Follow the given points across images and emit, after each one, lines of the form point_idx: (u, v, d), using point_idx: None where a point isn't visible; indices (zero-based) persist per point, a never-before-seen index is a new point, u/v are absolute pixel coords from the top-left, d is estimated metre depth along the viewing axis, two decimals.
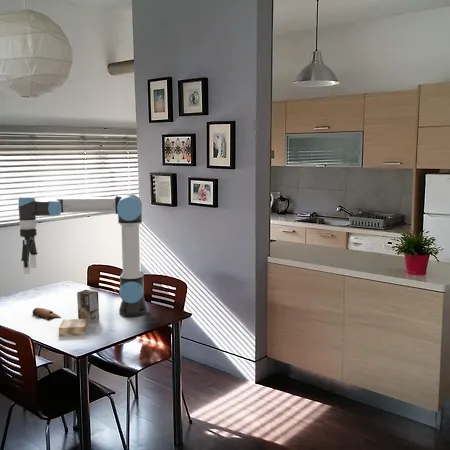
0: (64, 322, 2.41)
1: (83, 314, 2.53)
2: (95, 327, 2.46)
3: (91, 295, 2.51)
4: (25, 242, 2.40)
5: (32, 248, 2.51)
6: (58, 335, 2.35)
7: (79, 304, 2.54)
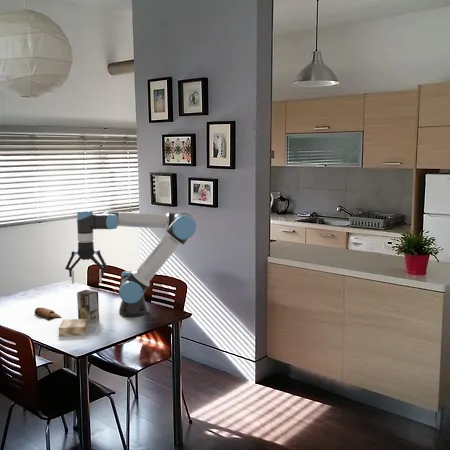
0: (64, 322, 2.41)
1: (83, 314, 2.53)
2: (95, 327, 2.46)
3: (91, 295, 2.51)
4: (71, 253, 2.50)
5: None
6: (58, 335, 2.35)
7: (79, 304, 2.54)
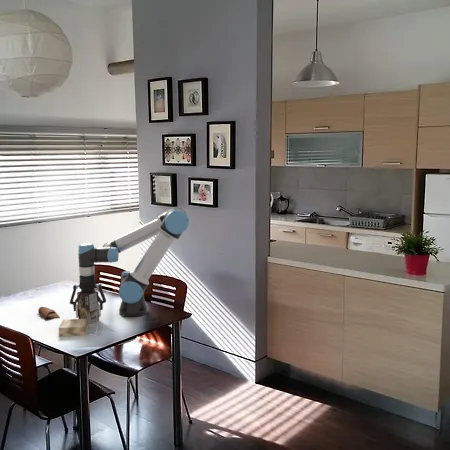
0: (64, 322, 2.41)
1: (83, 314, 2.53)
2: (95, 327, 2.46)
3: (91, 295, 2.51)
4: None
5: None
6: (58, 335, 2.35)
7: (79, 304, 2.54)
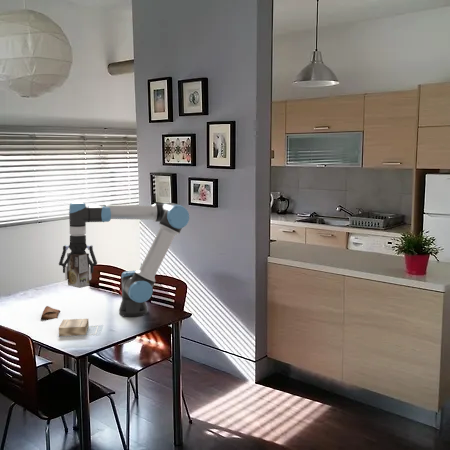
0: (64, 322, 2.41)
1: (72, 276, 2.43)
2: (95, 327, 2.46)
3: (81, 256, 2.40)
4: None
5: None
6: (58, 335, 2.35)
7: (69, 266, 2.44)
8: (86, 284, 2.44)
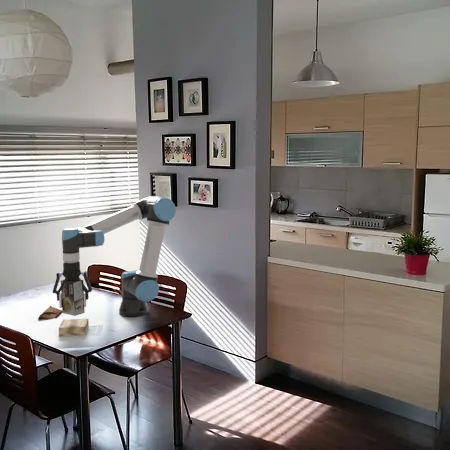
0: (64, 322, 2.41)
1: (67, 303, 2.36)
2: (95, 327, 2.46)
3: (75, 283, 2.34)
4: None
5: None
6: (58, 335, 2.35)
7: (63, 293, 2.37)
8: (81, 311, 2.38)
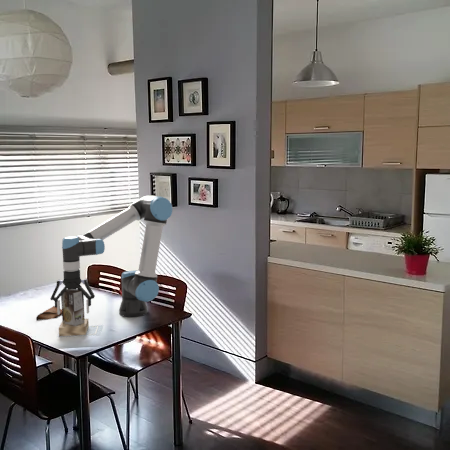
0: None
1: (67, 313, 2.37)
2: (95, 327, 2.46)
3: (76, 294, 2.35)
4: None
5: None
6: (58, 335, 2.35)
7: (63, 303, 2.38)
8: (81, 321, 2.39)
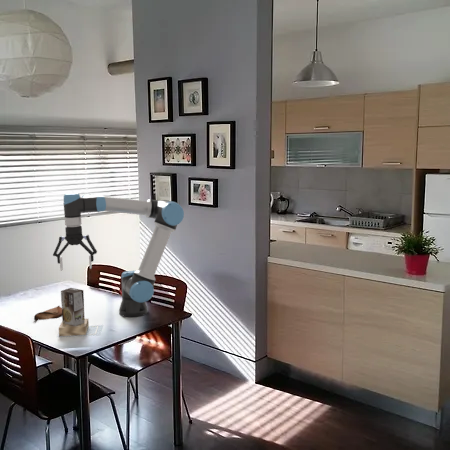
0: None
1: (67, 313, 2.37)
2: (95, 327, 2.46)
3: (76, 294, 2.35)
4: (59, 238, 2.40)
5: (84, 247, 2.42)
6: (58, 335, 2.35)
7: (63, 303, 2.38)
8: (81, 321, 2.39)
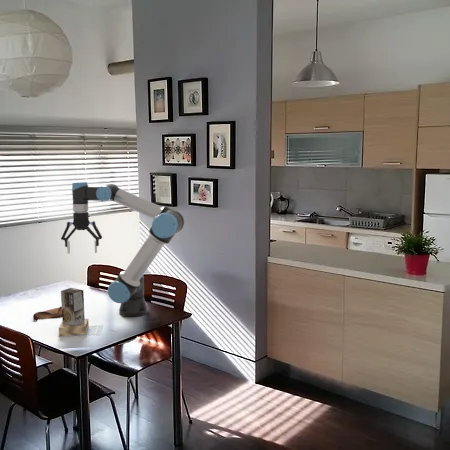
0: None
1: (67, 313, 2.37)
2: (95, 327, 2.46)
3: (76, 294, 2.35)
4: None
5: (90, 233, 2.58)
6: (58, 335, 2.35)
7: (63, 303, 2.38)
8: (81, 321, 2.39)
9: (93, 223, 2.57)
